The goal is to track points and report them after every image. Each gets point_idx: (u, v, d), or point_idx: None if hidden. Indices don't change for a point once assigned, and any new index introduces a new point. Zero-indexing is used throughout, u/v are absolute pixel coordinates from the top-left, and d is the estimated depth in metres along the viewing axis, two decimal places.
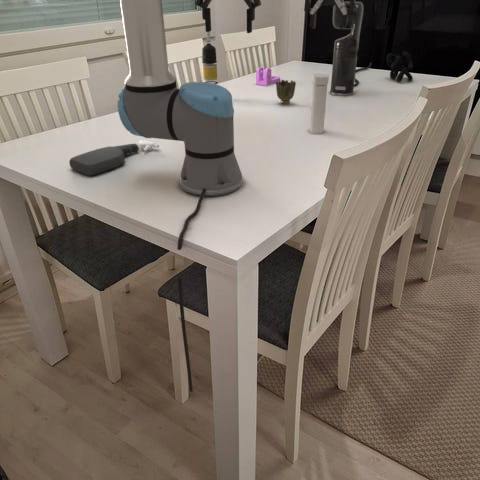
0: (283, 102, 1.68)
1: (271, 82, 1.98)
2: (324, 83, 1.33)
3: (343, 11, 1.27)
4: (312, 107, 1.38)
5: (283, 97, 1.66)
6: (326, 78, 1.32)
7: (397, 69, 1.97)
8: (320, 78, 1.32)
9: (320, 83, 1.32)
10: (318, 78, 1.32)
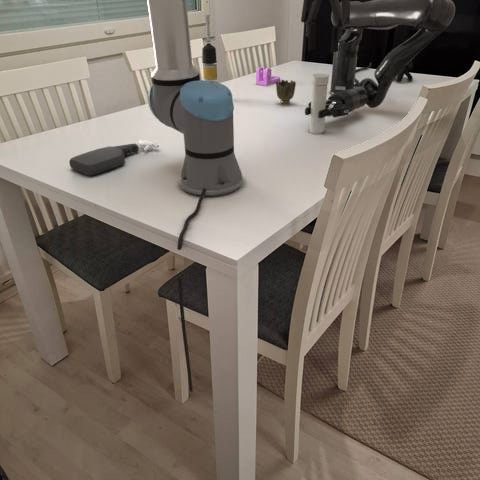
0: (283, 102, 1.68)
1: (271, 82, 1.98)
2: (324, 83, 1.33)
3: None
4: (312, 107, 1.38)
5: (283, 97, 1.66)
6: (326, 78, 1.32)
7: None
8: (320, 78, 1.32)
9: (320, 83, 1.32)
10: (318, 78, 1.32)
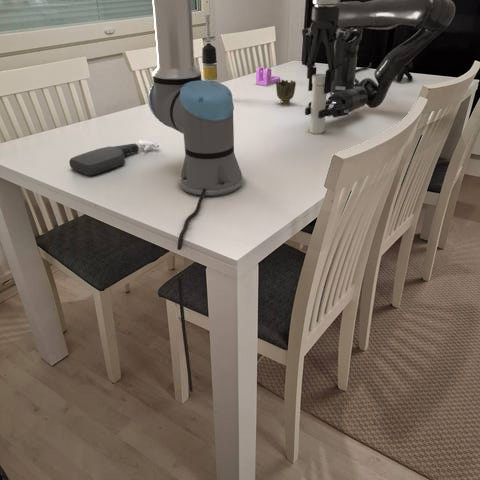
0: (283, 102, 1.68)
1: (271, 82, 1.98)
2: (324, 83, 1.33)
3: None
4: (312, 107, 1.38)
5: (283, 97, 1.66)
6: None
7: None
8: (320, 78, 1.32)
9: (320, 83, 1.32)
10: (318, 78, 1.32)
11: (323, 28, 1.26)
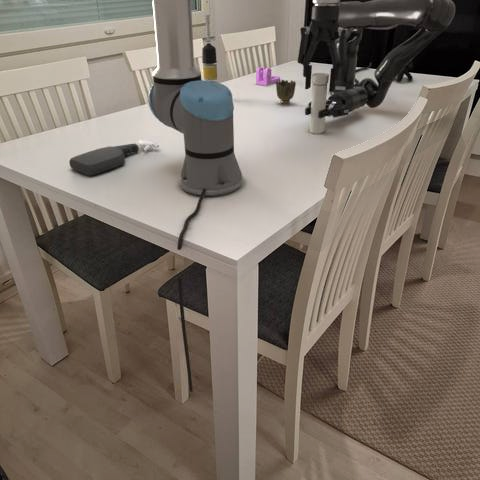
0: (283, 102, 1.68)
1: (271, 82, 1.98)
2: None
3: None
4: (312, 107, 1.38)
5: (283, 97, 1.66)
6: None
7: None
8: (328, 76, 1.32)
9: (327, 81, 1.33)
10: (327, 77, 1.32)
11: (324, 27, 1.26)
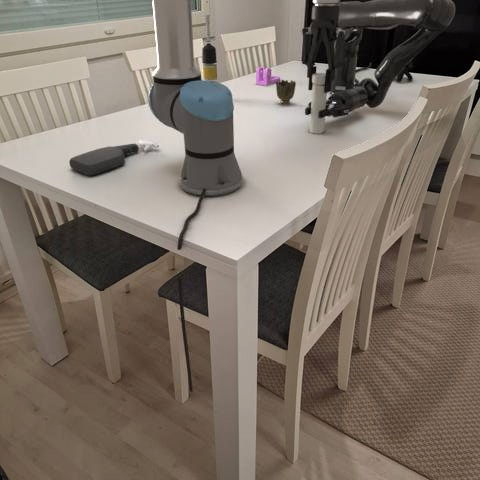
0: (283, 102, 1.68)
1: (271, 82, 1.98)
2: None
3: None
4: (312, 107, 1.38)
5: (283, 97, 1.66)
6: None
7: None
8: None
9: None
10: None
11: (323, 27, 1.26)
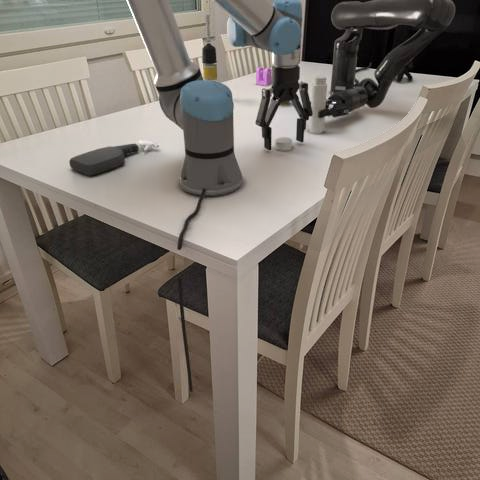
0: (283, 102, 1.68)
1: (271, 82, 1.98)
2: None
3: None
4: (312, 107, 1.38)
5: None
6: None
7: None
8: None
9: None
10: None
11: (288, 87, 1.21)
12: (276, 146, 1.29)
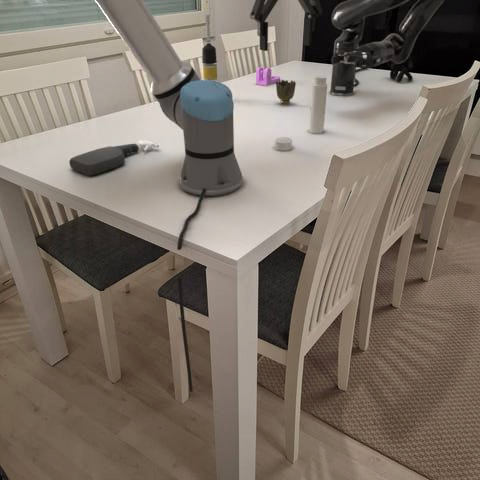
0: (283, 102, 1.68)
1: (271, 82, 1.98)
2: None
3: None
4: (312, 107, 1.38)
5: (283, 97, 1.66)
6: None
7: (397, 69, 1.97)
8: None
9: None
10: None
11: None
12: (276, 146, 1.29)
